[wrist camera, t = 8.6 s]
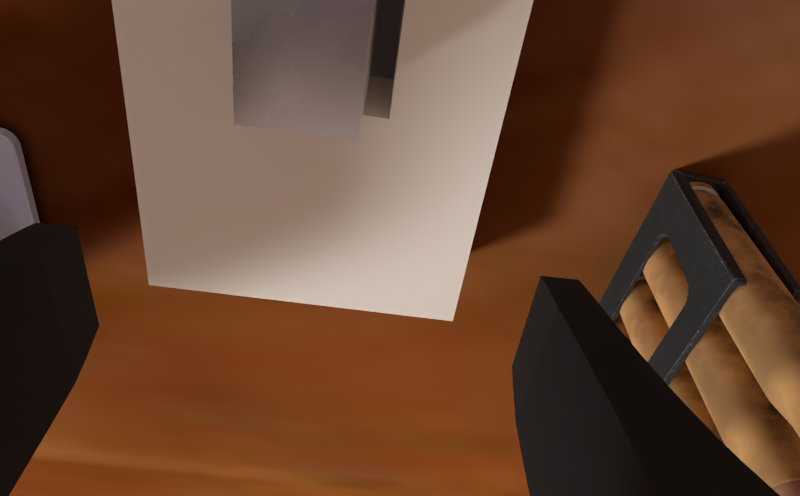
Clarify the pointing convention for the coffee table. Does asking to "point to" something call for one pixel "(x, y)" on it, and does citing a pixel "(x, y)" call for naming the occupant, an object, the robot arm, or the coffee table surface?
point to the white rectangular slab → (319, 159)
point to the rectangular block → (303, 64)
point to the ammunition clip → (717, 321)
